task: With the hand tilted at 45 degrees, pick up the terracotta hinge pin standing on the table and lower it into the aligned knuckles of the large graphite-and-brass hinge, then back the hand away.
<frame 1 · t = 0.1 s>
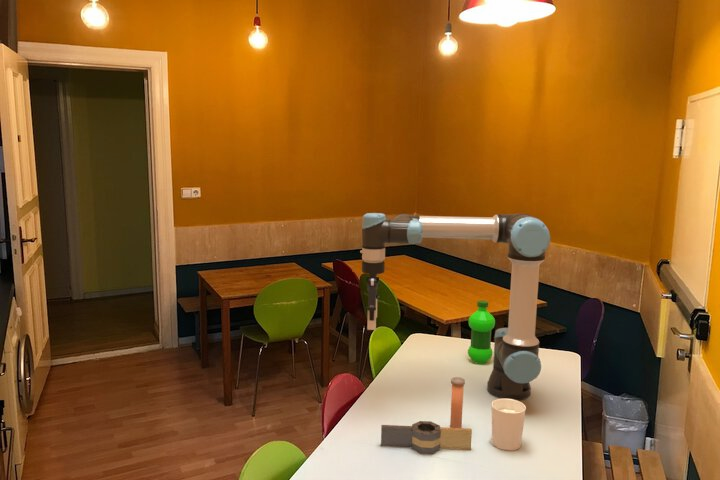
hand: (372, 323, 196), 28 cm above the table, fingers open, 13 cm apart
candle holder: (506, 444, 174), on the table
hinge pin: (455, 428, 183), on the table
plastic bottle: (479, 361, 240), on the table
hinge: (425, 446, 172), on the table
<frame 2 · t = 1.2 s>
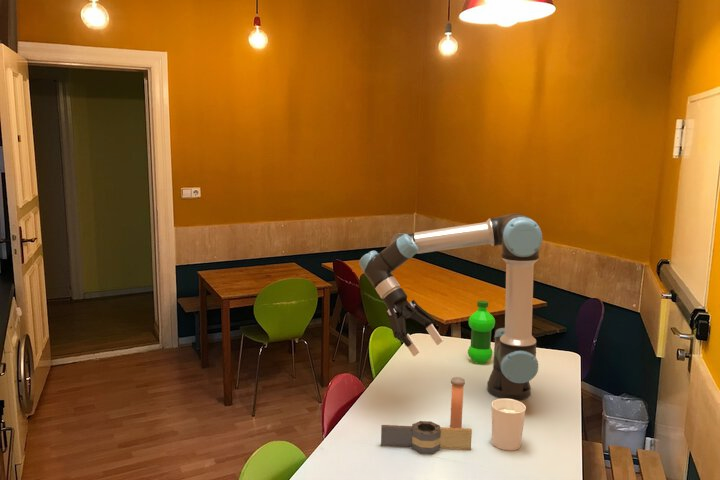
hand: (429, 348, 186), 24 cm above the table, fingers open, 13 cm apart
nothing on the table moved.
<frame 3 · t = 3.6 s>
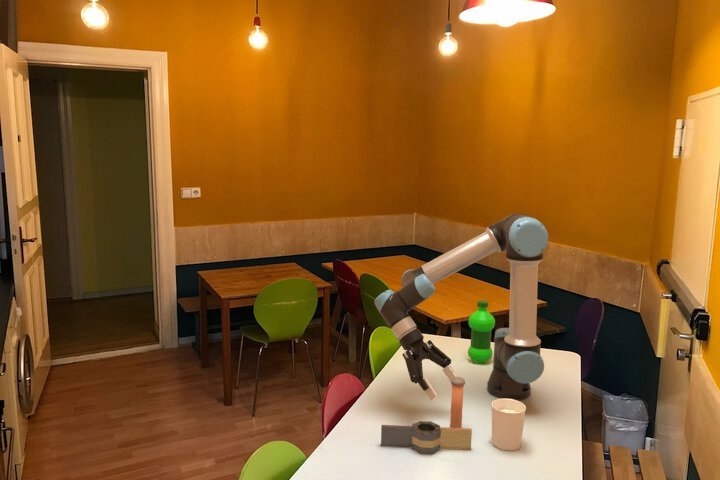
hand: (446, 391, 183), 11 cm above the table, fingers open, 13 cm apart
nothing on the table moved.
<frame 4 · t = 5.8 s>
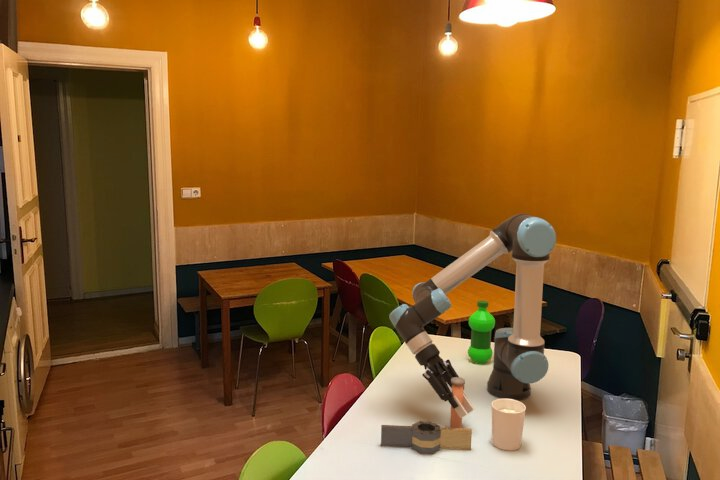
hand: (467, 413, 180), 6 cm above the table, fingers closed on hinge pin, 3 cm apart
hinge pin: (455, 428, 183), on the table, touching gripper
everything else where it was.
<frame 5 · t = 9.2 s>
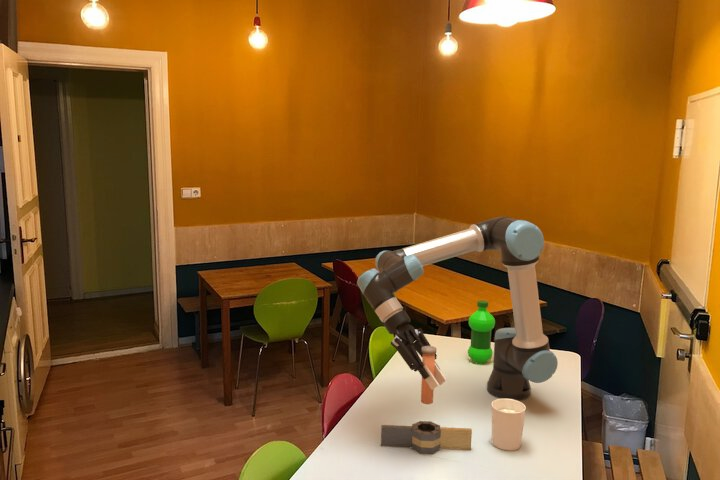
hand: (439, 384, 166), 20 cm above the table, fingers closed on hinge pin, 3 cm apart
hinge pin: (426, 401, 170), point 14 cm above the table, touching gripper
everything else where it was.
when the fingers open (9 cm above the table, at t = 12.4 s): hinge pin drops 2 cm, resting in hinge.
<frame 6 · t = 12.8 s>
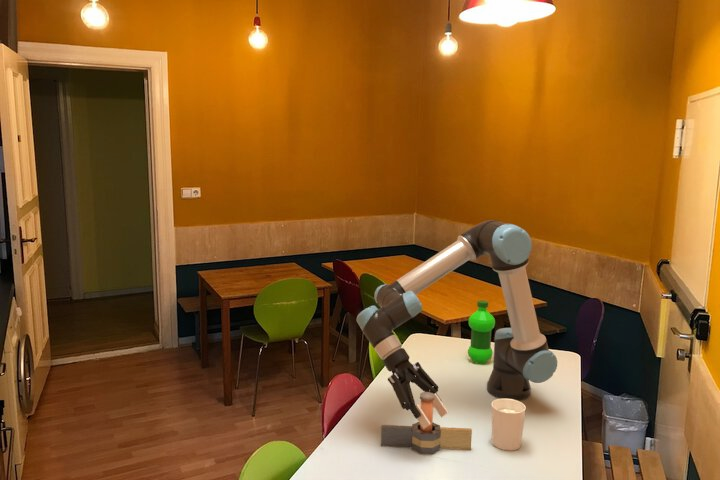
hand: (436, 420, 168), 9 cm above the table, fingers open, 9 cm apart
hinge pin: (425, 446, 172), resting in hinge
everything else where it was.
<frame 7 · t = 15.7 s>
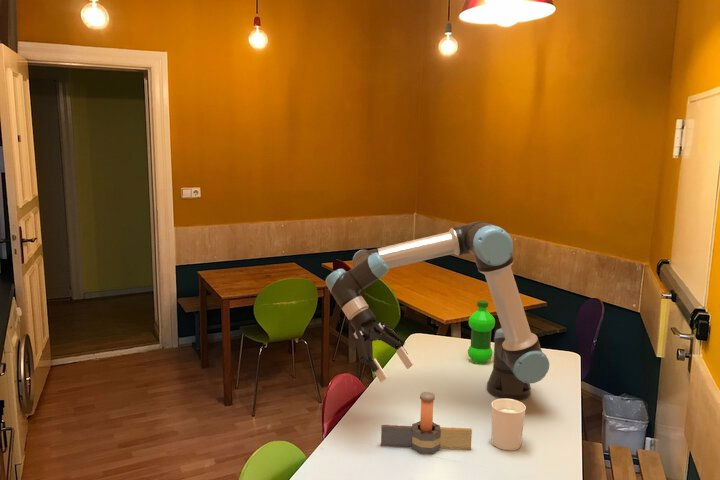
hand: (397, 373, 175), 20 cm above the table, fingers open, 13 cm apart
nothing on the table moved.
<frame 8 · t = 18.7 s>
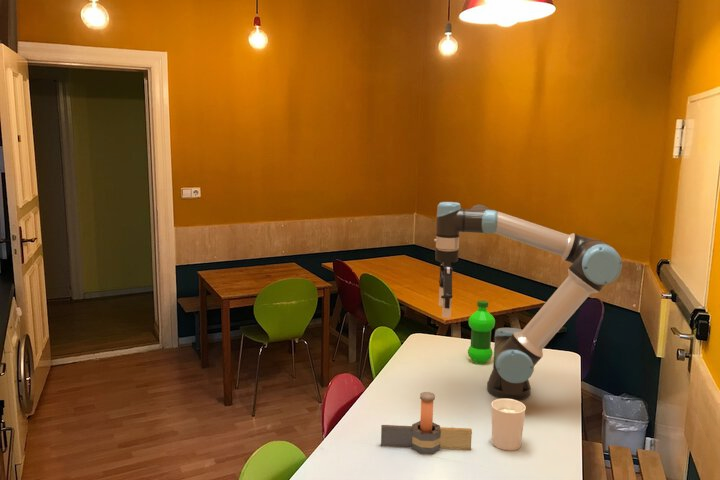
hand: (444, 311, 198), 32 cm above the table, fingers open, 13 cm apart
nothing on the table moved.
at the end: hinge pin 0.1 cm off-centre on the hinge, point 0.0 cm above the hinge's base; hinge pin tilted 0°; the gripper is holding nothing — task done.
